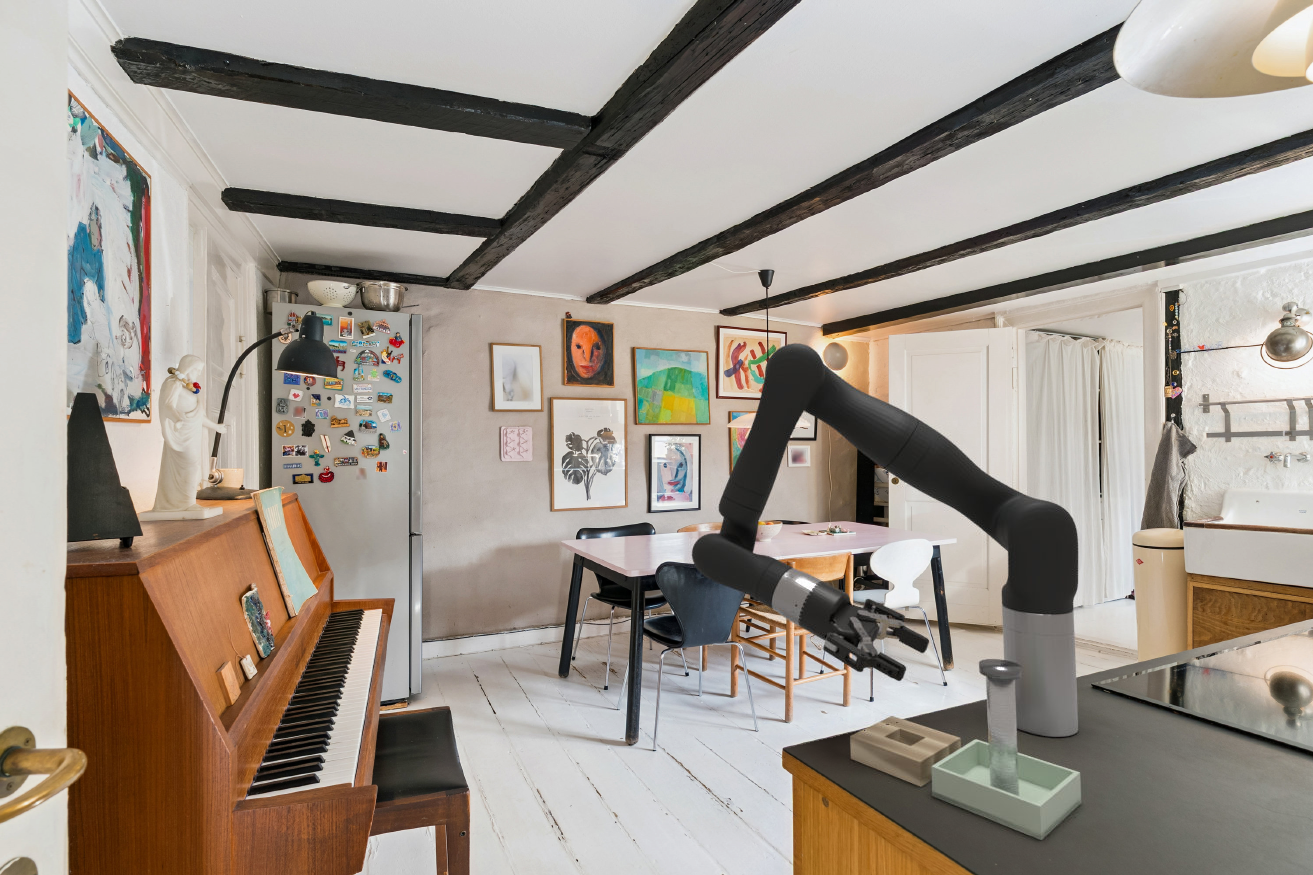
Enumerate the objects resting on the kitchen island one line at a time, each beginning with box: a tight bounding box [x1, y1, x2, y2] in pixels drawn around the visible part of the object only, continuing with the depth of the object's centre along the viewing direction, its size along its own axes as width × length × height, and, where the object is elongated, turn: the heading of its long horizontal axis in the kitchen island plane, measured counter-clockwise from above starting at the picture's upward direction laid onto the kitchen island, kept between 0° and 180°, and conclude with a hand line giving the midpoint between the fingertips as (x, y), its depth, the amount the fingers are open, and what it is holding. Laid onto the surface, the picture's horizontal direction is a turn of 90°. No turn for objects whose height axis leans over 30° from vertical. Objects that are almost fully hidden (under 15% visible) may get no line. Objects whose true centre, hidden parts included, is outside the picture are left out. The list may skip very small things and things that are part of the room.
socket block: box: [849, 715, 962, 788], centre depth 88 cm, size 10×10×3 cm
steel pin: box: [978, 658, 1021, 796], centre depth 78 cm, size 4×4×15 cm
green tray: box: [931, 738, 1082, 841], centre depth 78 cm, size 11×12×4 cm
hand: (915, 660), depth 90 cm, fingers open, 8 cm apart
